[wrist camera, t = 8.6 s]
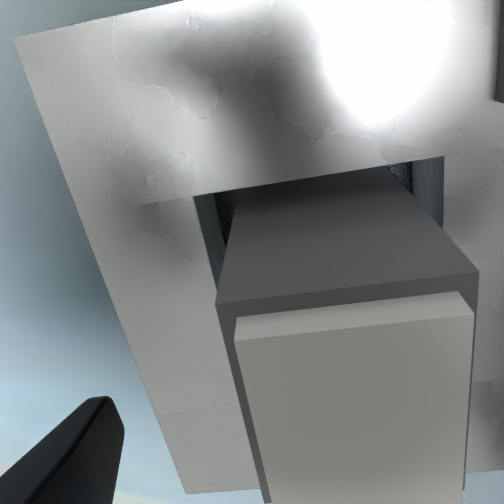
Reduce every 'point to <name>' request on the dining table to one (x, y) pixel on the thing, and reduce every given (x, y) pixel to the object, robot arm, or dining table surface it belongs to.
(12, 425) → the dining table surface
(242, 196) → the plug
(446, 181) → the socket plate
